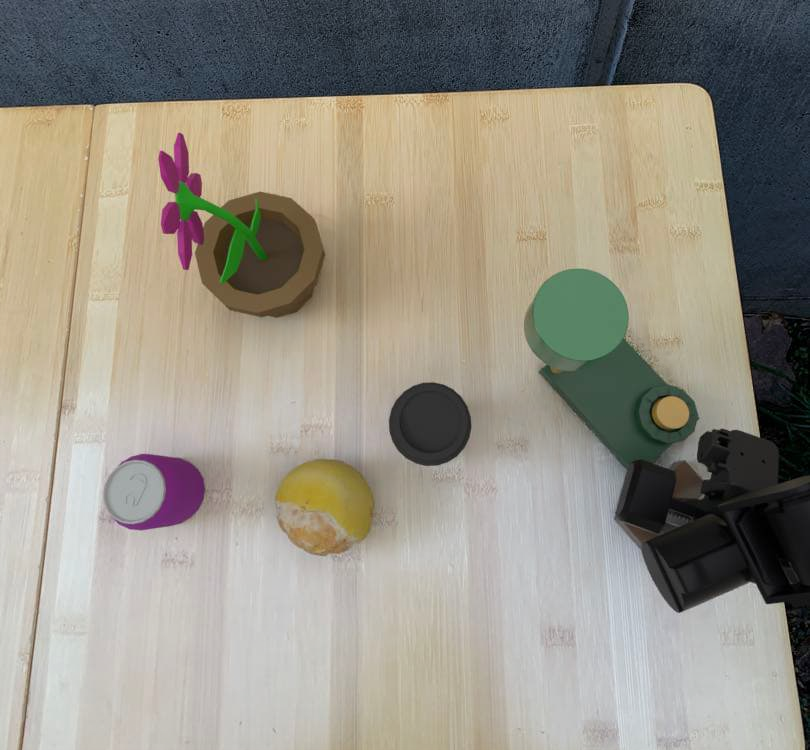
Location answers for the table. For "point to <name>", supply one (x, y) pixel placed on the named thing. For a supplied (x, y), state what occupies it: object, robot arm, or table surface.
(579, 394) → the lamp base
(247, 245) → the flowerpot
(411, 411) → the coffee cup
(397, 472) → the table surface
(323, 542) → the fruit
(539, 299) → the green short cylinder
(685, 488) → the dimmer panel
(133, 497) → the beverage can
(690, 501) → the dimmer knob
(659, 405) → the lamp switch
